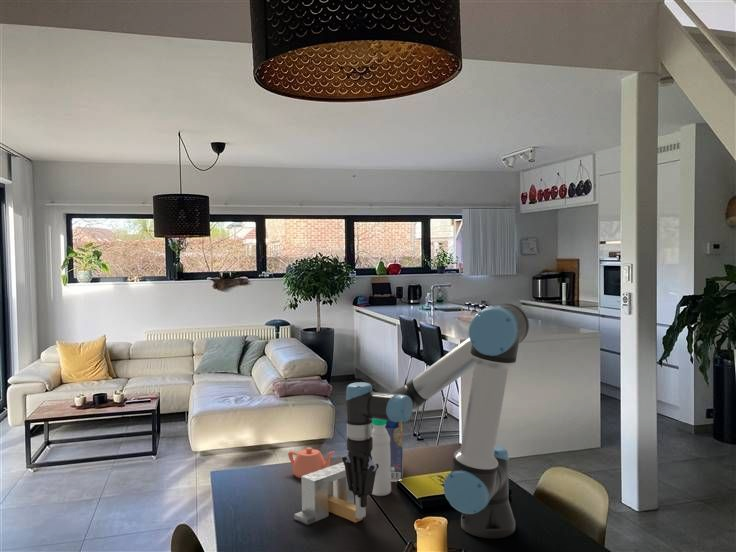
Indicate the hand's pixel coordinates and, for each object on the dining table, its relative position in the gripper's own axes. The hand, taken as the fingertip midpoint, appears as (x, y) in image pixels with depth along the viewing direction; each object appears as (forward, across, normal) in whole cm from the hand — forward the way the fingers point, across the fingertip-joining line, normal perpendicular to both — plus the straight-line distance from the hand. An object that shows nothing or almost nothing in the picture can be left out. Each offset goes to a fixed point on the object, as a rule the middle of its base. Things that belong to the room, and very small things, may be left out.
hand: (360, 516), depth 175 cm
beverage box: (+2, +18, -34) cm, 39 cm away
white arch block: (+2, +13, 0) cm, 13 cm away
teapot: (+2, +41, -16) cm, 44 cm away
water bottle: (+2, +11, -20) cm, 23 cm away
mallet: (+1, +11, 0) cm, 11 cm away
